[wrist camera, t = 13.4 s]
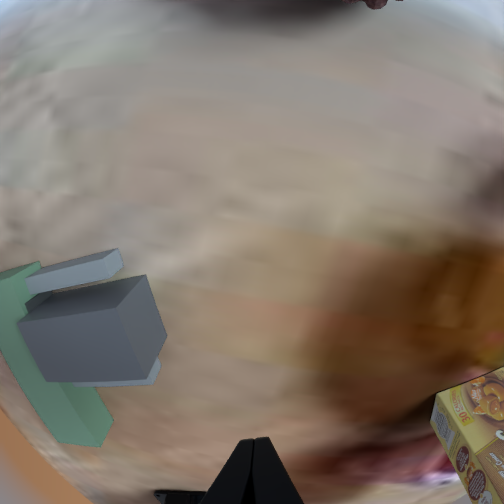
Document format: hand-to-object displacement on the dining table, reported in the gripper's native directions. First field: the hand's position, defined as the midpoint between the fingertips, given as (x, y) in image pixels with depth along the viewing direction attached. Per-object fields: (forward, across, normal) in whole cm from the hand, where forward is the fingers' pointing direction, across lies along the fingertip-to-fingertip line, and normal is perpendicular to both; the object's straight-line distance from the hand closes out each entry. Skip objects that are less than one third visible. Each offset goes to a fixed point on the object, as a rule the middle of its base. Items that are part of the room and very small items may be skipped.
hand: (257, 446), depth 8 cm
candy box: (+12, -17, +15) cm, 26 cm away
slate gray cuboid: (+12, +11, 0) cm, 16 cm away
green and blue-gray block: (+12, +14, +2) cm, 19 cm away
